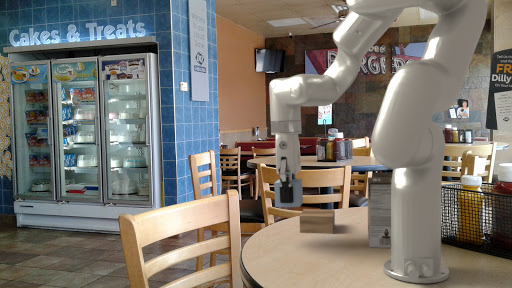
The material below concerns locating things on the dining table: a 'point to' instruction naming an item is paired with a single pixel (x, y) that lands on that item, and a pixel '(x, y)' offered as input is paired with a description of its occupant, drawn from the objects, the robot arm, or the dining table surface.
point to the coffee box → (379, 212)
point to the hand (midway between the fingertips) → (289, 199)
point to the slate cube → (296, 194)
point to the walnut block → (317, 221)
